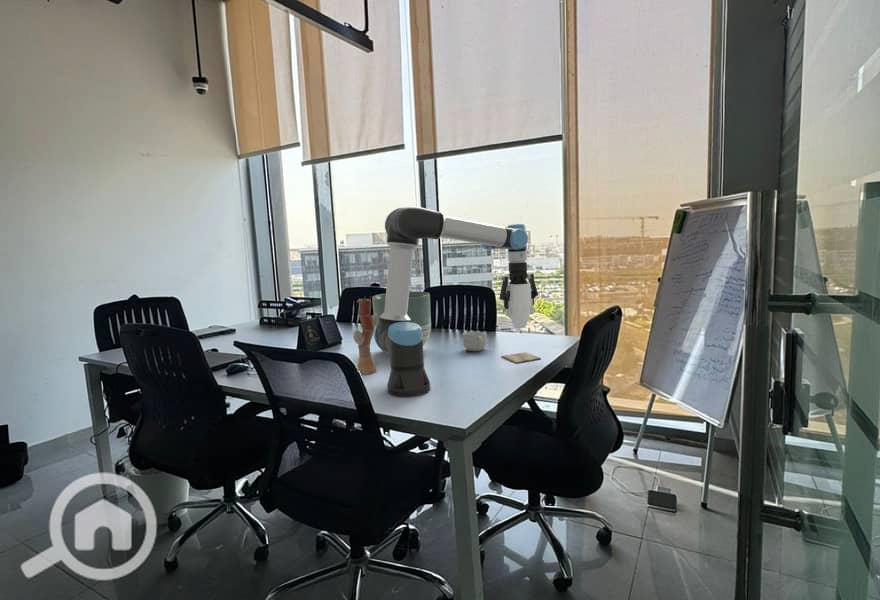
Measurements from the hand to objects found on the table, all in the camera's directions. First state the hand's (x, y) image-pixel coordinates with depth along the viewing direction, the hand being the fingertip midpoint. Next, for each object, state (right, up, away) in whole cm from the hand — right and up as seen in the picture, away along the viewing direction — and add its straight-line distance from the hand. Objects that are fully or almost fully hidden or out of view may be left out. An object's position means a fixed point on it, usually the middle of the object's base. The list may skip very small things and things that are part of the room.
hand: (519, 314), depth 202 cm
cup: (0, -8, +1) cm, 8 cm away
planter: (-50, -18, +26) cm, 59 cm away
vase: (-62, -23, -6) cm, 67 cm away
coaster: (+1, -18, +2) cm, 19 cm away
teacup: (-17, -17, +20) cm, 31 cm away
